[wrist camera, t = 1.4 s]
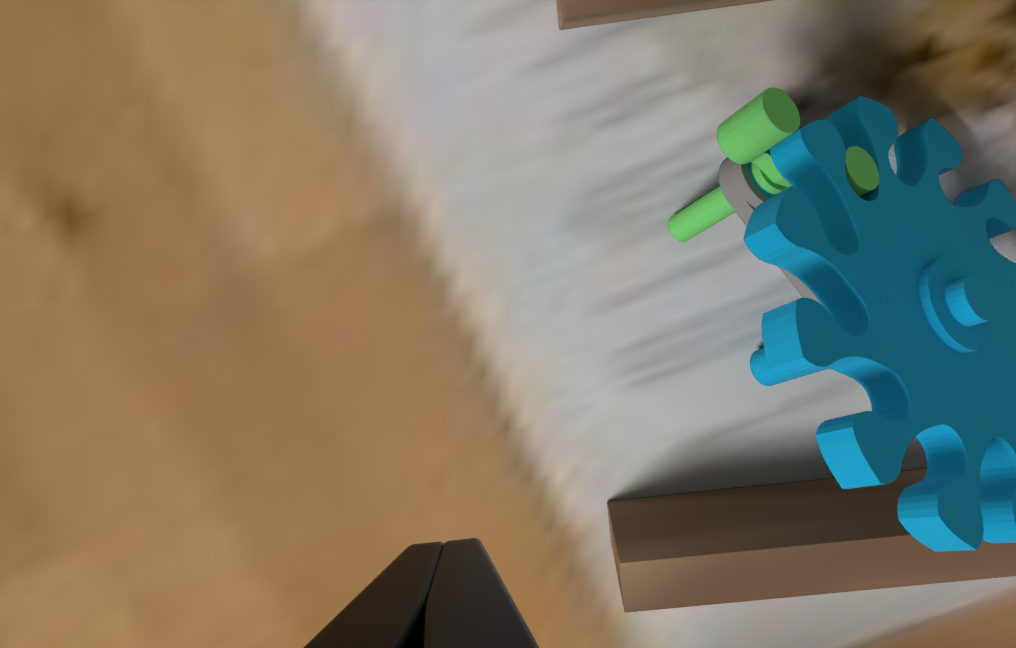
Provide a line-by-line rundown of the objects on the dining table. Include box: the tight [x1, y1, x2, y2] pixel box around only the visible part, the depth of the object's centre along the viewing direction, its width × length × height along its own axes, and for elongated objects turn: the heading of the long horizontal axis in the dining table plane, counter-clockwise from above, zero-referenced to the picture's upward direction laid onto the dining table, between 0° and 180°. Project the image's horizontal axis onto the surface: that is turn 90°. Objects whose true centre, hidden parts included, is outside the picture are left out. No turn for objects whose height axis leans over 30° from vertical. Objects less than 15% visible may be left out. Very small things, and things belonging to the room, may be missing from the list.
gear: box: [668, 88, 1016, 552], centre depth 18 cm, size 11×6×10 cm
